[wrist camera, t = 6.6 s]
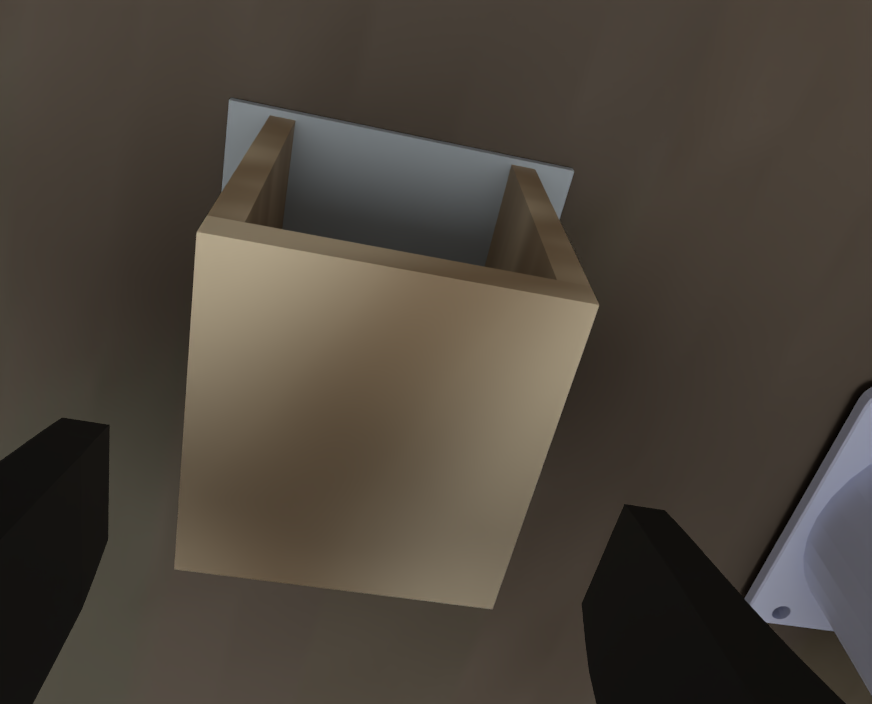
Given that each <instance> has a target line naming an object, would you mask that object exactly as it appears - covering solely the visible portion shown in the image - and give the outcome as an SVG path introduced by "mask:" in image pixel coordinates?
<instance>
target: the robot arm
mask: <svg viewBox="0 0 872 704" xmlns="http://www.w3.org/2000/svg"><path fill="white" fill-rule="evenodd" d="M108 503H109V425H106V424H100V423H93V422H87V421H80V420H74V419H67V418H61V419H59V420H58V421H56V422H55V423H53V424H52V425H50V426H49V427H47V428H46V429H44V430H43V431H42V432H40V433H39V434H37V435H36V436H34V437H33V438H32V439H30V440H29V441H27V442H26V443H25V444H23V445H22V446H21V447H19V448H18V449H16V450H15V451H14V452H12V453H11V454H9V455H8V456H7V457H5V458H4V459H2V460H1V461H0V704H33V702H34V700H35V698H36V697H37V695H38V693H39V691H40V689H41V687H42V685H43V683H44V681H45V679H46V677H47V676H48V674H49V672H50V670H51V668H52V666H53V664H54V662H55V660H56V658H57V656H58V654H59V653H60V651H61V649H62V647H63V645H64V643H65V641H66V639H67V637H68V635H69V633H70V631H71V629H72V627H73V625H74V623H75V621H76V620H77V618H78V616H79V614H80V612H81V610H82V607H83V605H84V602H85V600H86V597H87V595H88V592H89V589H90V587H91V584H92V582H93V579H94V576H95V574H96V571H97V568H98V566H99V563H100V560H101V557H102V555H103V552H104V549H105V546H106V544H107V541H108ZM582 611H583V622H584V632H585V642H586V650H587V658H588V666H589V673H590V677H591V682H592V686H593V691H594V695H595V699H596V703H597V704H846V703H845V702H843V701H842V700H841V699H840V698H839V697H838V696H837V695H836V694H835V693H834V692H833V691H832V690H831V689H830V688H829V687H828V686H827V685H826V684H825V683H824V682H823V681H822V680H821V679H820V678H819V677H818V676H817V675H816V674H815V673H814V672H813V671H812V670H811V669H810V668H809V667H808V666H807V665H806V664H805V663H804V662H803V661H802V660H801V659H800V658H799V657H798V656H797V655H796V654H795V653H794V652H793V651H792V650H791V649H790V648H789V647H788V645H787V644H786V643H785V642H784V641H783V640H782V639H781V638H780V637H779V636H778V635H777V634H776V633H775V632H774V631H773V630H772V629H771V627H770V626H769V625H768V624H767V623H774V624H782V625H789V626H797V627H805V628H812V629H820V630H828V631H834V632H835V634H836V635H837V637H838V639H839V641H840V642H841V644H842V646H843V648H844V649H845V651H846V653H847V654H848V656H849V658H850V660H851V661H852V663H853V665H854V666H855V668H856V670H857V672H858V673H859V675H860V677H861V678H862V680H863V682H864V684H865V685H866V687H867V689H868V690H869V692H870V694H871V696H872V387H871V388H869V389H868V390H866V391H865V392H864V393H863V394H862V395H861V396H860V398H859V399H858V401H857V403H856V404H855V406H854V408H853V410H852V411H851V413H850V415H849V417H848V418H847V420H846V422H845V424H844V425H843V427H842V429H841V431H840V432H839V434H838V436H837V438H836V439H835V441H834V443H833V445H832V446H831V448H830V450H829V452H828V453H827V455H826V457H825V459H824V460H823V462H822V464H821V466H820V467H819V469H818V471H817V473H816V474H815V476H814V478H813V480H812V481H811V483H810V485H809V487H808V488H807V490H806V492H805V494H804V495H803V497H802V499H801V501H800V502H799V504H798V506H797V507H796V509H795V511H794V513H793V514H792V516H791V518H790V520H789V521H788V523H787V525H786V527H785V528H784V530H783V532H782V534H781V535H780V537H779V539H778V541H777V542H776V544H775V546H774V548H773V549H772V551H771V553H770V555H769V556H768V558H767V560H766V562H765V563H764V565H763V567H762V569H761V570H760V572H759V574H758V576H757V577H756V579H755V581H754V583H753V584H752V586H751V588H750V590H749V591H748V593H747V595H746V597H745V598H743V597H742V596H741V595H740V593H739V592H738V591H737V590H736V589H735V588H734V587H733V586H732V584H731V583H730V582H729V581H728V580H727V579H726V578H725V577H724V575H723V574H722V573H721V572H720V571H719V570H718V569H717V567H716V566H715V565H714V564H713V563H712V562H711V561H710V560H709V558H708V557H707V556H706V555H705V554H704V553H703V552H702V550H701V549H700V548H699V547H698V546H697V545H696V544H695V543H694V541H693V540H692V539H691V538H690V537H689V536H688V535H687V534H686V532H685V531H684V530H683V529H682V528H681V527H680V526H679V525H678V524H677V523H676V522H675V521H674V519H673V518H672V517H671V516H670V515H669V514H668V513H667V512H666V511H665V510H659V509H652V508H646V507H639V506H633V505H626V504H624V507H623V509H622V511H621V514H620V516H619V518H618V521H617V523H616V525H615V528H614V530H613V532H612V535H611V537H610V539H609V542H608V544H607V546H606V549H605V551H604V553H603V556H602V558H601V560H600V563H599V565H598V567H597V570H596V572H595V574H594V577H593V579H592V581H591V584H590V586H589V588H588V590H587V593H586V595H585V597H584V600H583V602H582ZM766 622H767V623H766Z"/></svg>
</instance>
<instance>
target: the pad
mask: <svg viewBox="0 0 872 704" xmlns="http://www.w3.org/2000/svg"><path fill="white" fill-rule="evenodd" d="M270 115H271V116H276V117H281V118H286V119H291V120H295V128H294V137H293V145H292V153H291V161H290V169H289V177H288V185H287V193H286V202H285V210H284V218H283V226H282V229H283V230H289V231H294V232H300V233H305V234H310V235H316V236H321V237H327V238H332V239H338V240H343V241H348V242H354V243H359V244H365V245H370V246H375V247H381V248H386V249H392V250H397V251H403V252H408V253H413V254H419V255H424V256H430V257H435V258H440V259H446V260H451V261H457V262H462V263H467V264H473V265H478V266H484V267H485V263H486V259H487V256H488V252H489V248H490V244H491V241H492V237H493V233H494V229H495V225H496V222H497V218H498V214H499V210H500V206H501V203H502V199H503V195H504V191H505V188H506V184H507V180H508V176H509V172H510V169H511V165H517V166H522V167H527V168H532V169H535V170H536V172H537V174H538V176H539V178H540V180H541V183H542V185H543V187H544V189H545V191H546V193H547V195H548V197H549V199H550V202H551V204H552V206H553V208H554V210H555V212H556V214H557V216H558V218H559V219H560V216H561V213H562V209H563V206H564V203H565V200H566V196H567V193H568V190H569V187H570V183H571V180H572V177H573V174H574V170H573V168H569V167H564V166H559V165H555V164H550V163H545V162H540V161H535V160H530V159H526V158H521V157H516V156H511V155H506V154H501V153H497V152H492V151H487V150H482V149H477V148H472V147H468V146H463V145H458V144H453V143H448V142H443V141H439V140H434V139H429V138H424V137H419V136H414V135H410V134H405V133H400V132H395V131H390V130H385V129H381V128H376V127H371V126H366V125H361V124H356V123H352V122H347V121H342V120H337V119H332V118H327V117H323V116H318V115H313V114H308V113H303V112H298V111H294V110H289V109H284V108H279V107H274V106H269V105H265V104H260V103H255V102H250V101H245V100H240V99H236V98H230V99H229V107H228V119H227V131H226V144H225V156H224V168H223V180H222V191H223V189H224V188H225V186H226V184H227V183H228V181H229V180H230V178H231V176H232V175H233V173H234V172H235V170H236V168H237V167H238V165H239V164H240V162H241V160H242V159H243V157H244V156H245V154H246V152H247V151H248V149H249V148H250V146H251V145H252V143H253V141H254V140H255V138H256V137H257V135H258V133H259V132H260V130H261V129H262V127H263V125H264V124H265V122H266V121H267V119H268V117H269V116H270Z"/></svg>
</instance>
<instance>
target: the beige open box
mask: <svg viewBox="0 0 872 704" xmlns="http://www.w3.org/2000/svg"><path fill="white" fill-rule="evenodd" d="M294 128H295V120H291V119H286V118H281V117H276V116H271V115H270V116H269V117H268V119H267V121H266V122H265V124H264V125H263V127H262V129H261V130H260V132H259V133H258V135H257V137H256V138H255V140H254V141H253V143H252V145H251V146H250V148H249V149H248V151H247V152H246V154H245V156H244V157H243V159H242V160H241V162H240V164H239V165H238V167H237V168H236V170H235V172H234V173H233V175H232V176H231V178H230V180H229V181H228V183H227V184H226V186H225V188H224V189H223V191H222V192H221V194H220V196H219V197H218V199H217V200H216V202H215V203H214V205H213V207H212V208H211V210H210V211H209V213H208V215H207V216H206V218H205V219H204V221H203V223H202V224H201V226H200V227H199V229H198V231H197V235H196V250H195V265H194V280H193V295H192V310H191V325H190V340H189V355H188V370H187V385H186V400H185V415H184V430H183V445H182V460H181V475H180V490H179V505H178V521H177V536H176V551H175V566H174V569H176V570H184V571H192V572H199V573H207V574H215V575H223V576H231V577H239V578H247V579H255V580H263V581H271V582H279V583H287V584H295V585H303V586H311V587H319V588H327V589H335V590H343V591H351V592H359V593H366V594H374V595H382V596H390V597H398V598H406V599H414V600H422V601H430V602H438V603H446V604H454V605H462V606H470V607H478V608H486V609H493V606H494V604H495V601H496V598H497V595H498V592H499V589H500V586H501V584H502V581H503V578H504V575H505V572H506V569H507V567H508V564H509V561H510V558H511V555H512V552H513V550H514V547H515V544H516V541H517V538H518V535H519V532H520V530H521V527H522V524H523V521H524V518H525V515H526V513H527V510H528V507H529V504H530V501H531V498H532V495H533V493H534V490H535V487H536V484H537V481H538V478H539V476H540V473H541V470H542V467H543V464H544V461H545V458H546V456H547V453H548V450H549V447H550V444H551V441H552V439H553V436H554V433H555V430H556V427H557V424H558V421H559V419H560V416H561V413H562V410H563V407H564V404H565V402H566V399H567V396H568V393H569V390H570V387H571V384H572V382H573V379H574V376H575V373H576V370H577V367H578V365H579V362H580V359H581V356H582V353H583V350H584V347H585V345H586V342H587V339H588V336H589V333H590V330H591V328H592V325H593V322H594V319H595V316H596V313H597V310H598V308H599V303H598V301H597V299H596V297H595V295H594V293H593V290H592V288H591V286H590V284H589V282H588V280H587V278H586V276H585V274H584V271H583V269H582V267H581V265H580V263H579V261H578V259H577V257H576V254H575V252H574V250H573V248H572V246H571V244H570V242H569V240H568V238H567V235H566V233H565V231H564V229H563V227H562V225H561V223H560V221H559V218H558V216H557V214H556V212H555V210H554V208H553V206H552V204H551V202H550V199H549V197H548V195H547V193H546V191H545V189H544V187H543V185H542V183H541V180H540V178H539V176H538V174H537V172H536V170H535V169H532V168H527V167H522V166H517V165H511V169H510V172H509V176H508V180H507V184H506V188H505V191H504V195H503V199H502V203H501V206H500V210H499V214H498V218H497V222H496V225H495V229H494V233H493V237H492V241H491V244H490V248H489V252H488V256H487V259H486V263H485V267H484V266H478V265H473V264H467V263H462V262H457V261H451V260H446V259H440V258H435V257H430V256H424V255H419V254H413V253H408V252H403V251H397V250H392V249H386V248H381V247H375V246H370V245H365V244H359V243H354V242H348V241H343V240H338V239H332V238H327V237H321V236H316V235H310V234H305V233H300V232H294V231H289V230H283V229H282V226H283V218H284V210H285V202H286V193H287V185H288V177H289V169H290V161H291V153H292V145H293V137H294Z"/></svg>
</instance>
